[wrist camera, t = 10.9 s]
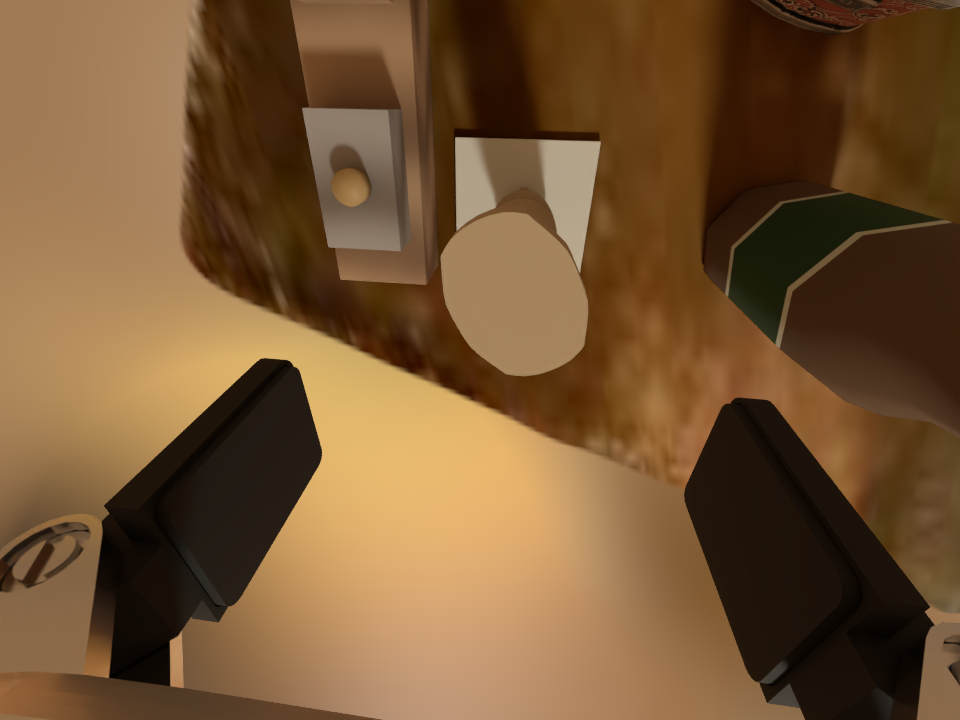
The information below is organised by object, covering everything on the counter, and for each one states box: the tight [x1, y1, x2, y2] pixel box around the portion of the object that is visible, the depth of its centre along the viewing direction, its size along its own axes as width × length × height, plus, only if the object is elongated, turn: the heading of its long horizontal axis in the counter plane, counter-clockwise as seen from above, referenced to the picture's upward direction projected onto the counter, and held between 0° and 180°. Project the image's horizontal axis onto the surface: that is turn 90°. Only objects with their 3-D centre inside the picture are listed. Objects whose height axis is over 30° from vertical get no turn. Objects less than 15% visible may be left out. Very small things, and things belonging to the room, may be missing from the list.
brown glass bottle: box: [703, 181, 960, 438], centre depth 17 cm, size 8×8×24 cm
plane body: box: [290, 0, 438, 285], centre depth 23 cm, size 18×6×7 cm, turn 179°
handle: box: [441, 187, 588, 376], centre depth 21 cm, size 5×6×15 cm
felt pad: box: [455, 137, 601, 273], centre depth 27 cm, size 9×9×1 cm
